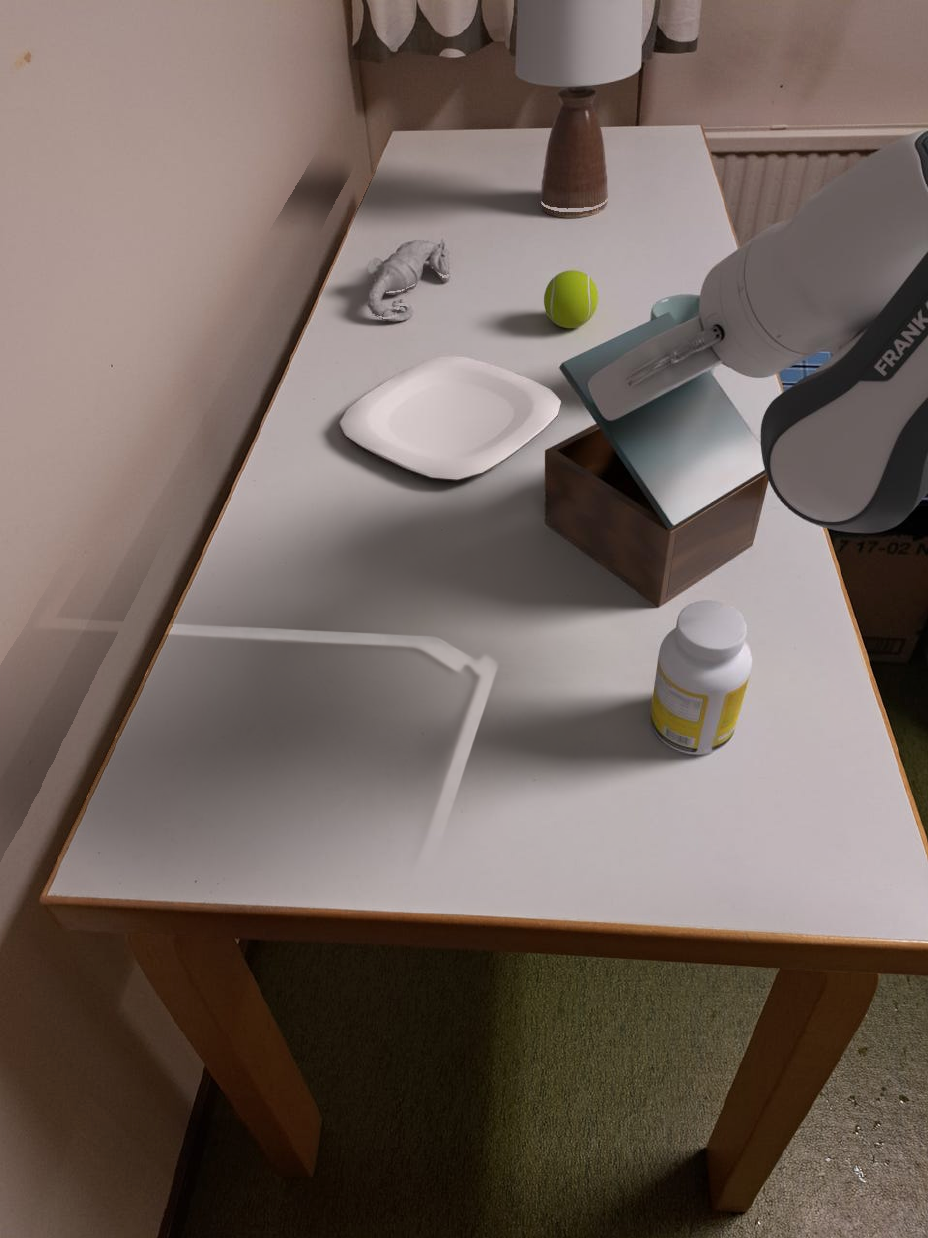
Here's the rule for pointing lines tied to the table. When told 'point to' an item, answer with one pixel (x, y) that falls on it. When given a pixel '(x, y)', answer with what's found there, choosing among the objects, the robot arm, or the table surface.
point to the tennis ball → (571, 299)
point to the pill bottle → (701, 678)
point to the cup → (678, 308)
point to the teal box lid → (673, 433)
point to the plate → (450, 417)
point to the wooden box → (641, 520)
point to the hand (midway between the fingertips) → (648, 378)
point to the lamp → (577, 86)
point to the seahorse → (404, 274)
